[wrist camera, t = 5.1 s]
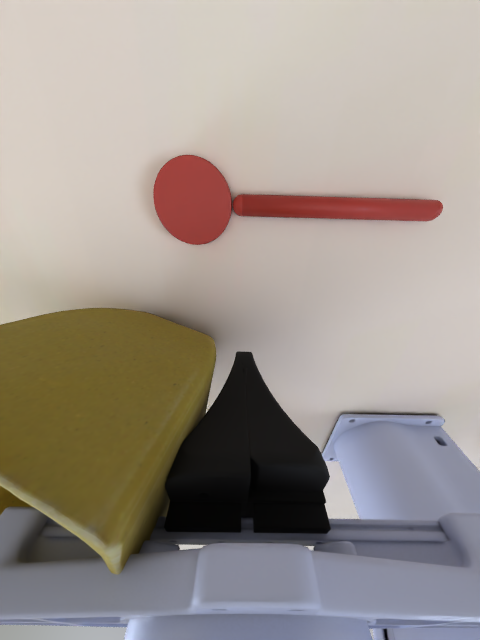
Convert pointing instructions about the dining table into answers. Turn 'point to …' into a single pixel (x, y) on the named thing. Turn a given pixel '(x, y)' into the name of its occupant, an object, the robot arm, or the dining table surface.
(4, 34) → the dining table surface
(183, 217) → the red spoon
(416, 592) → the robot arm
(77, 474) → the flower pot
